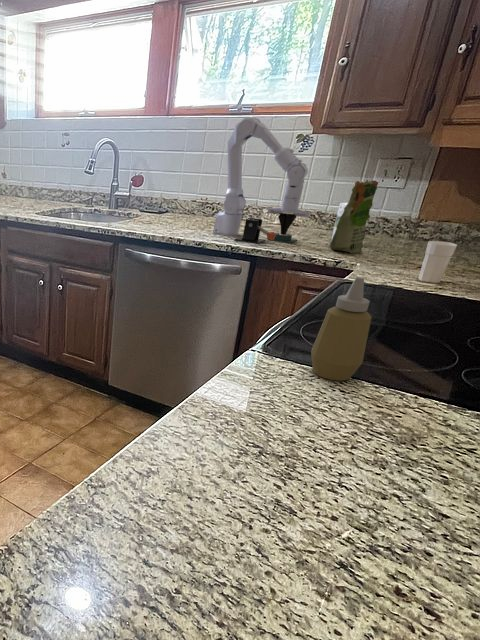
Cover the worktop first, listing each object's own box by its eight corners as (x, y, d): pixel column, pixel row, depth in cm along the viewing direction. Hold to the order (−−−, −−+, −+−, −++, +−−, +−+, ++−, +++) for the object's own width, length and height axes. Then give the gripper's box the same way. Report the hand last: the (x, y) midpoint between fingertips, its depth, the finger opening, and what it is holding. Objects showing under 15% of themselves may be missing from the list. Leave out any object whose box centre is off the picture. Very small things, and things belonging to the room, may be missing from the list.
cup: (416, 276, 159) (428, 240, 155) (443, 280, 156) (457, 243, 151) (414, 280, 155) (427, 243, 150) (442, 284, 151) (456, 246, 146)
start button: (276, 238, 204) (277, 234, 203) (279, 237, 206) (280, 233, 205) (285, 239, 202) (286, 235, 201) (287, 238, 204) (288, 234, 203)
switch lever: (273, 240, 198) (278, 234, 197) (270, 242, 196) (275, 235, 195) (249, 225, 203) (254, 218, 201) (246, 225, 201) (251, 219, 199)
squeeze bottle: (338, 365, 99) (367, 271, 91) (367, 384, 91) (401, 284, 84) (296, 365, 99) (322, 271, 91) (322, 384, 91) (352, 284, 84)
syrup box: (352, 242, 205) (363, 204, 199) (337, 242, 205) (348, 204, 199) (344, 239, 210) (354, 202, 204) (329, 239, 210) (339, 202, 204)
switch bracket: (265, 242, 203) (270, 219, 199) (257, 245, 198) (262, 222, 194) (241, 239, 209) (246, 216, 205) (233, 242, 203) (238, 219, 200)
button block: (266, 241, 205) (268, 233, 204) (272, 239, 209) (273, 231, 208) (291, 245, 200) (293, 237, 198) (296, 242, 204) (298, 235, 202)
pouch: (357, 249, 194) (378, 178, 184) (368, 256, 184) (391, 181, 174) (323, 246, 197) (342, 177, 187) (333, 253, 187) (353, 180, 176)
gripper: (316, 198, 196) (306, 235, 201) (275, 195, 205) (267, 230, 210) (310, 200, 191) (301, 237, 197) (268, 196, 200) (261, 232, 206)
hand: (283, 234), depth 203 cm, fingers closed, pressing on start button
